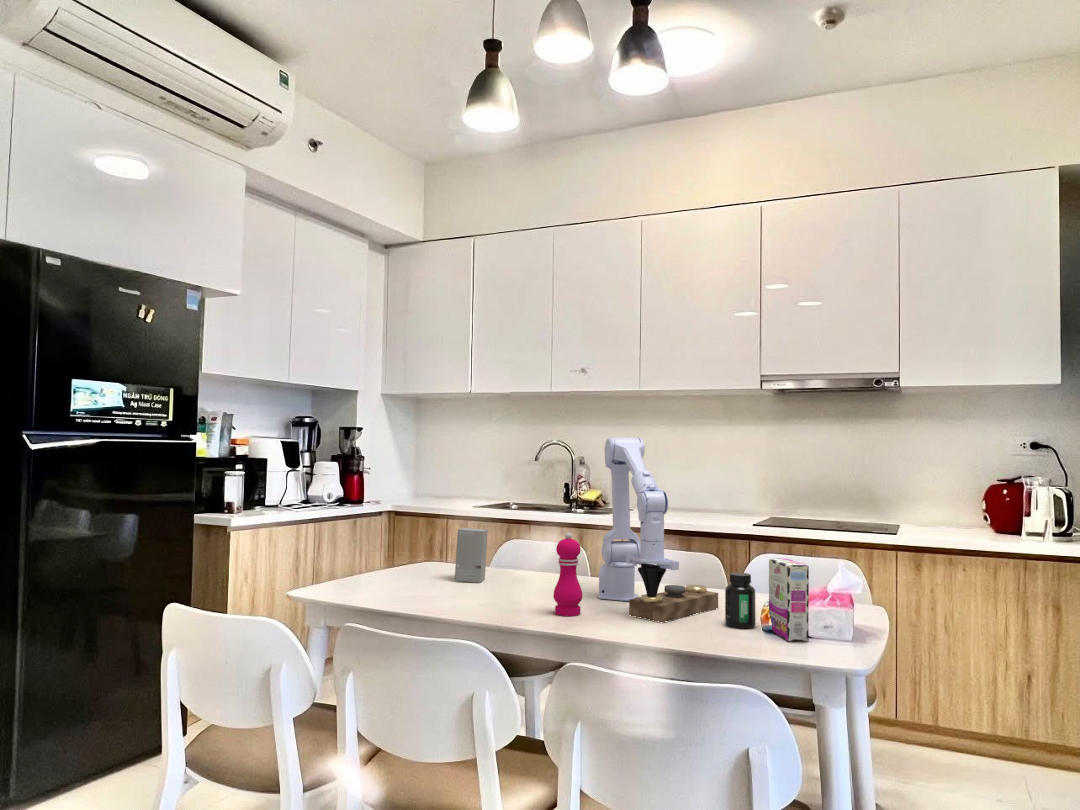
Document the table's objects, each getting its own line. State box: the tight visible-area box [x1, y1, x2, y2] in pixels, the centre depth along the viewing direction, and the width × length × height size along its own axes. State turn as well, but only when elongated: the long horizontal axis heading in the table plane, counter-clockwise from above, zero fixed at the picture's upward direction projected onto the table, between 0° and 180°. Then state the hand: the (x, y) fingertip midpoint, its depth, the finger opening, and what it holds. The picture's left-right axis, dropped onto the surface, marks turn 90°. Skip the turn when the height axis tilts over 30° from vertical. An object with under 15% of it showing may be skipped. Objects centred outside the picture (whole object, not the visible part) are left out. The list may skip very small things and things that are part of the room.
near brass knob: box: [640, 593, 663, 604], centre depth 183 cm, size 5×5×5 cm
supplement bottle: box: [724, 572, 757, 630], centre depth 176 cm, size 7×7×12 cm
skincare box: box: [454, 527, 489, 584], centre depth 230 cm, size 8×7×16 cm
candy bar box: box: [768, 557, 810, 643], centre depth 167 cm, size 11×5×16 cm, turn 5°
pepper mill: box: [553, 532, 584, 617], centre depth 187 cm, size 7×7×20 cm
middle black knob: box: [663, 584, 686, 598], centre depth 190 cm, size 5×5×5 cm
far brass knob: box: [685, 584, 708, 594], centre depth 196 cm, size 5×5×5 cm
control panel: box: [628, 586, 719, 623], centre depth 189 cm, size 24×10×4 cm, turn 134°
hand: (651, 596), depth 183 cm, fingers closed, pressing on near brass knob
